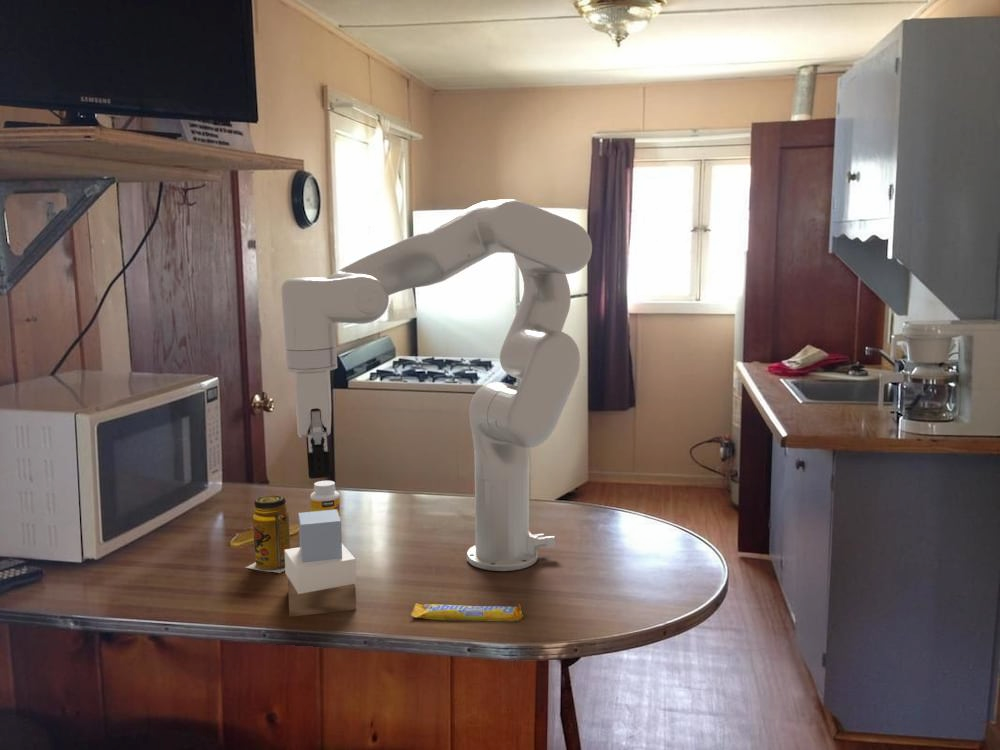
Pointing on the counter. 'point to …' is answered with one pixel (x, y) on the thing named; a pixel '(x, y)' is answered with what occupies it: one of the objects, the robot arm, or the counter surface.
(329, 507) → the supplement bottle
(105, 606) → the counter surface
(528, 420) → the robot arm
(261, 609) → the counter surface
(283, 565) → the condiment
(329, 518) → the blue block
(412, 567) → the counter surface
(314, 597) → the tower base block
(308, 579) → the tower top block
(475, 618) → the candy bar
